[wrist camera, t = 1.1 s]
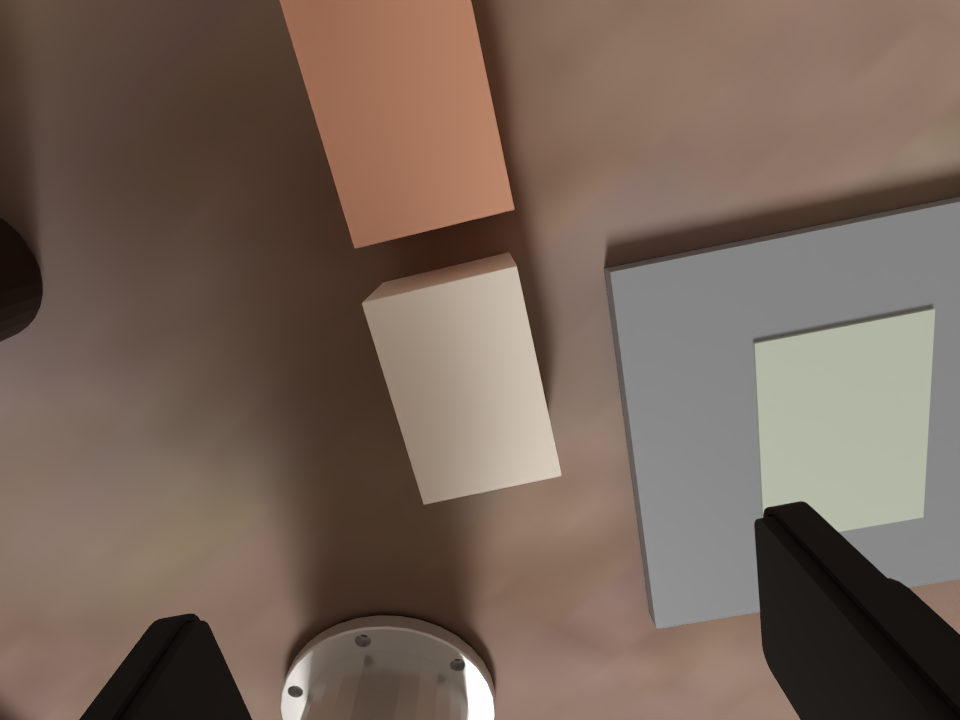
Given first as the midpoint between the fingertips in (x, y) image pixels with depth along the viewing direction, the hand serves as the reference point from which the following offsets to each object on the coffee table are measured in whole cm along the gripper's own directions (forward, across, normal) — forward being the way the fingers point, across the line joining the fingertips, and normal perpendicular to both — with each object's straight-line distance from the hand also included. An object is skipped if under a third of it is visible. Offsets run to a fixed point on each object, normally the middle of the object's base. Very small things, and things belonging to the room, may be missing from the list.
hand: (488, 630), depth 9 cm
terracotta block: (+18, +1, -10) cm, 21 cm away
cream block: (+18, +1, 0) cm, 18 cm away
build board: (+18, -16, +8) cm, 25 cm away
